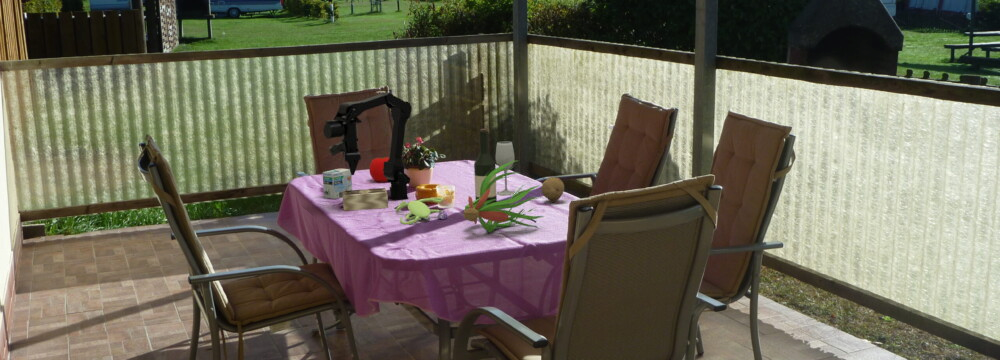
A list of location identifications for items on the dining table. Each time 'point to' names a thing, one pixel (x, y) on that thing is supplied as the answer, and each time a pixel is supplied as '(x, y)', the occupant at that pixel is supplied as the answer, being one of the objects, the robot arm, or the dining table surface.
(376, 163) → the tomato
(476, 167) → the wine bottle
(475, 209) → the decorative plant
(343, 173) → the light bulb box
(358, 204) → the birch block
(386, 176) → the robot arm
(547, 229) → the dining table surface
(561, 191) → the coconut
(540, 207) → the dining table surface
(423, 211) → the figurine
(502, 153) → the wineglass
